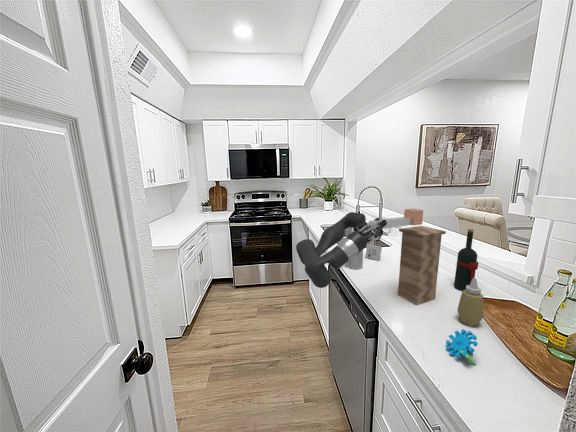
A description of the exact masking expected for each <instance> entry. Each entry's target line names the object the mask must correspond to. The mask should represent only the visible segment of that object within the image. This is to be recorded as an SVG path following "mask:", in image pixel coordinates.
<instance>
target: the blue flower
mask: <svg viewBox="0 0 576 432" xmlns="http://www.w3.org/2000/svg"><path fill="white" fill-rule="evenodd" d="M453 333H454V334H455V335H453V334H449V335H448V338H449V339H450V340H451V341H450V340H449V339H446V341H445V344H446V345H447V346H445V350H446V351H447V352H448V353H449V354H450V355H451V357H454V356H455V357H456V358H458V359H461V357H462V356H463V357H464V358H465V360H466V361H467V362H471V364H473V366H476V365H477V363H476V362H475V361H474V360H473V357H472V356H474V352H475V348H473V347H472V346H471V345H473V346H474V347H478V344H479V343H478V342H477V340H478V337H477V335H476V334H474V332H472V331H471V330H466V329H464V328H463V329H461V330H460V331H458V330H454V332H453Z"/></svg>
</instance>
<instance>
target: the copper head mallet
mask: <svg viewBox="0 0 576 432" xmlns="http://www.w3.org/2000/svg"><path fill="white" fill-rule="evenodd" d="M423 216H424V210H423V209H418V208H405V209H404V214H403V216H401V217H392V218H383V219H385V220H386V222H387V225H386V226H384V227H383V228H382V229H383V230H384V229H385V230H386V229H392V228H400V227H405V226H406V227H407V226H412V227H415V226H422V225H423V218H424V217H423ZM383 219H380V220H375V219H372V220H368V223H369V229H370V228H371V227H375V226H376V225H378V224H379V223H380V222H381V221H382V220H383ZM375 230H377V229H375Z"/></svg>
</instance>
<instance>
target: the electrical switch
mask: <svg viewBox="0 0 576 432" xmlns="http://www.w3.org/2000/svg"><path fill="white" fill-rule="evenodd" d="M381 255H382V246H380V245H374V244H369V243H367V245H366V251H365V257H364V258H366V259H368V258H370V259H369V260H373V259H374V261H377V260H378V262H379V261H380V260H381Z"/></svg>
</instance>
